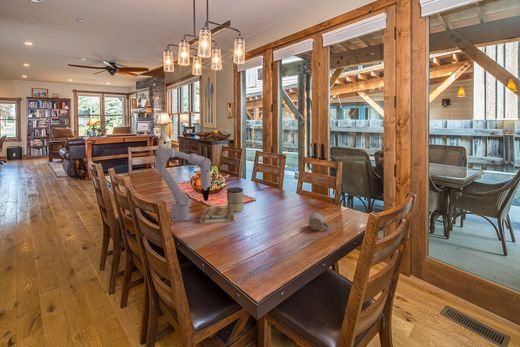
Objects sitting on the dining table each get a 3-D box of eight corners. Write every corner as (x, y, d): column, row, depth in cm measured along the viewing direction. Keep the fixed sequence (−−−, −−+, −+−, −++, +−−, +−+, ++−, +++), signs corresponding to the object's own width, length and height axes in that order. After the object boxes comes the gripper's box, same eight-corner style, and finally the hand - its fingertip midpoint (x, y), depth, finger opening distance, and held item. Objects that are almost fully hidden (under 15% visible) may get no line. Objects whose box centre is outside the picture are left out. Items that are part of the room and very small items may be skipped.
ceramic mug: (308, 230, 154) (309, 216, 153) (308, 225, 162) (309, 211, 160) (328, 232, 152) (329, 218, 150) (328, 226, 160) (329, 213, 158)
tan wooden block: (207, 216, 169) (207, 208, 168) (208, 214, 173) (207, 206, 172) (228, 215, 171) (228, 207, 170) (228, 213, 175) (228, 205, 174)
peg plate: (200, 223, 165) (200, 217, 165) (201, 216, 177) (201, 210, 176) (235, 221, 168) (235, 215, 167) (234, 214, 180) (234, 209, 179)
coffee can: (224, 210, 189) (223, 189, 187) (237, 207, 196) (236, 186, 193) (233, 213, 181) (232, 192, 179) (246, 210, 188) (246, 189, 185)
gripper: (211, 179, 170) (212, 202, 172) (212, 174, 184) (213, 195, 186) (199, 179, 169) (200, 202, 171) (201, 175, 183) (201, 196, 185)
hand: (206, 199), depth 179 cm, fingers open, 7 cm apart
